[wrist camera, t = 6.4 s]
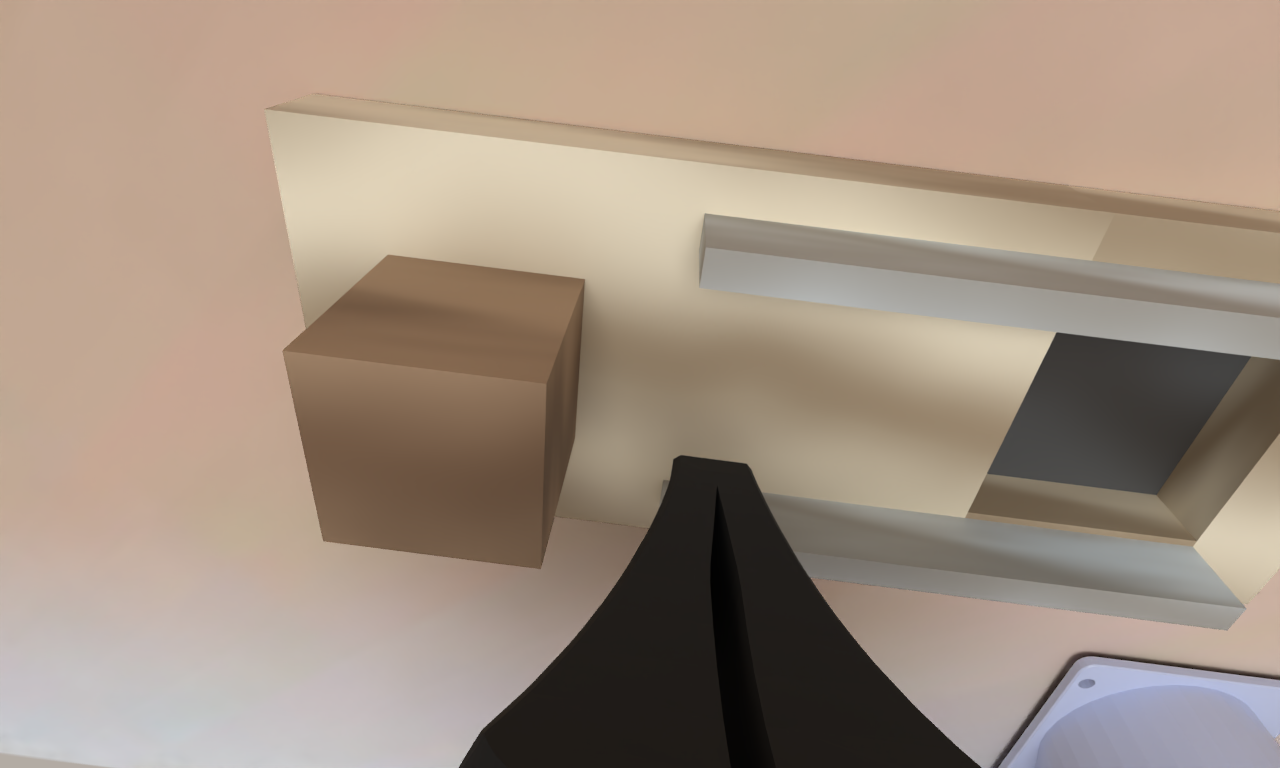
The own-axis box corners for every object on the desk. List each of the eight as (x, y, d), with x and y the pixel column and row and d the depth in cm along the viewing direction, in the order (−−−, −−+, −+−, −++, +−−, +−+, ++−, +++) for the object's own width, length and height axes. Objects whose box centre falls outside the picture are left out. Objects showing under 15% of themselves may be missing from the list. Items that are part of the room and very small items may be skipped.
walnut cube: (575, 438, 17) (540, 569, 13) (405, 416, 17) (323, 541, 13) (584, 278, 15) (546, 383, 11) (388, 254, 15) (281, 350, 11)
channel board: (1201, 550, 20) (1304, 669, 17) (366, 445, 20) (299, 540, 17) (1449, 232, 15) (1675, 310, 11) (313, 93, 15) (200, 129, 12)
